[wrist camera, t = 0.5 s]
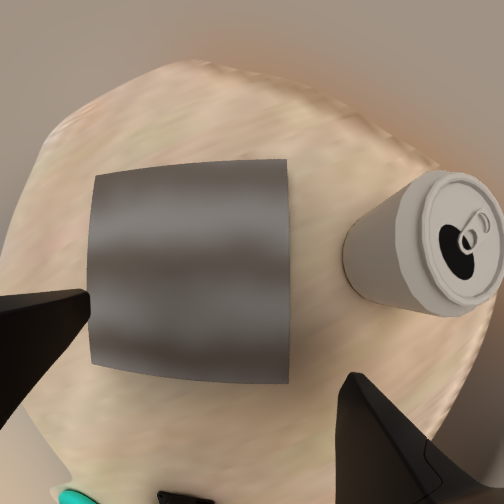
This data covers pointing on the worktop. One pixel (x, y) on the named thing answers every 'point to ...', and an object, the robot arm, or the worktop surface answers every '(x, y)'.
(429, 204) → the can
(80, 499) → the turquoise double disc piece
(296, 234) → the worktop surface
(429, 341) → the worktop surface
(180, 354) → the plinth
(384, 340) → the worktop surface
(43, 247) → the worktop surface
